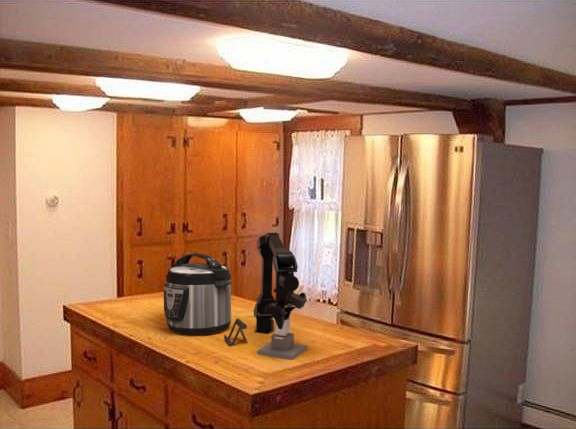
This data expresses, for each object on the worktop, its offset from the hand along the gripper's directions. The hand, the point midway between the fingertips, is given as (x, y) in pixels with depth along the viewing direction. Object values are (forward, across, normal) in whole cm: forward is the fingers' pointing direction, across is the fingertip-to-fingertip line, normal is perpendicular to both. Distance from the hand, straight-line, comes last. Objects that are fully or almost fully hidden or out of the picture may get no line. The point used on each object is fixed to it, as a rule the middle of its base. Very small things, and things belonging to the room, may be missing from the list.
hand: (282, 327), depth 217 cm
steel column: (+6, 0, 0) cm, 6 cm away
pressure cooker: (+9, +13, +45) cm, 48 cm away
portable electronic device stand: (+9, +3, +21) cm, 23 cm away
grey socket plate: (+9, 0, 0) cm, 9 cm away
